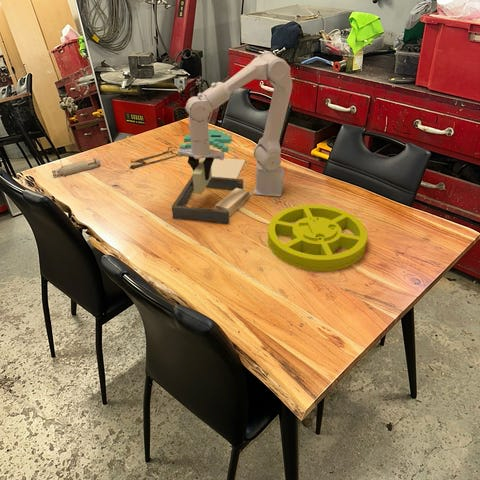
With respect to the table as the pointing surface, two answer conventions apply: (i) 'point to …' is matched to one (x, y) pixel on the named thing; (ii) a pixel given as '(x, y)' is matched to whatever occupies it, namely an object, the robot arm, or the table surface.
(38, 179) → the table surface
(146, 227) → the table surface
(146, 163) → the hacksaw
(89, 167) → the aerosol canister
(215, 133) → the alien figure
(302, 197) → the table surface
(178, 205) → the offcut rack
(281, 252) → the pulley
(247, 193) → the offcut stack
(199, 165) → the sage board
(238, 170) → the rubber mat
